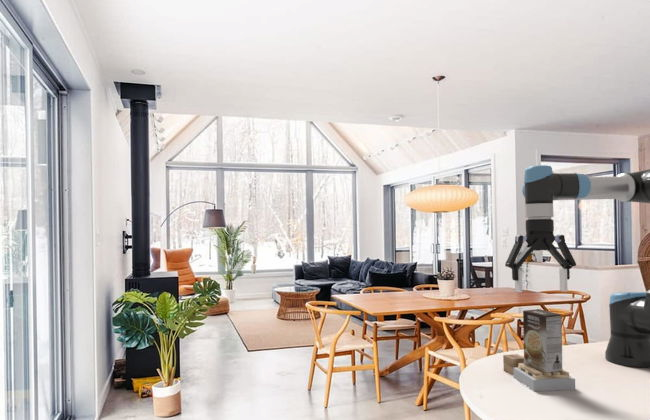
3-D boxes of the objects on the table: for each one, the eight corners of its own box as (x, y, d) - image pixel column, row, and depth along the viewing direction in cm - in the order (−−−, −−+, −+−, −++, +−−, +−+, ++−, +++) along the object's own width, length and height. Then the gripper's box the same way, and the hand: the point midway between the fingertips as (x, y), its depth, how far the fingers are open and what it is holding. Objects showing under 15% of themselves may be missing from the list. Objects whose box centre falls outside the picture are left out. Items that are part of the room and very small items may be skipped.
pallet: (550, 367, 145) (550, 362, 145) (569, 377, 135) (569, 372, 135) (518, 368, 144) (518, 363, 144) (535, 378, 134) (534, 373, 134)
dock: (551, 376, 146) (551, 366, 146) (575, 389, 134) (575, 378, 134) (513, 377, 145) (513, 367, 145) (533, 391, 133) (533, 380, 133)
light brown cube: (517, 369, 153) (517, 354, 153) (527, 374, 148) (527, 358, 149) (503, 371, 152) (503, 355, 152) (513, 375, 147) (513, 359, 147)
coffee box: (522, 364, 143) (521, 310, 144) (539, 362, 145) (538, 308, 146) (546, 373, 134) (544, 315, 135) (564, 370, 137) (562, 313, 137)
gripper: (572, 218, 146) (574, 288, 145) (492, 219, 144) (494, 290, 143) (587, 217, 138) (590, 292, 138) (503, 218, 137) (505, 294, 136)
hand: (541, 291), depth 141 cm, fingers open, 13 cm apart
